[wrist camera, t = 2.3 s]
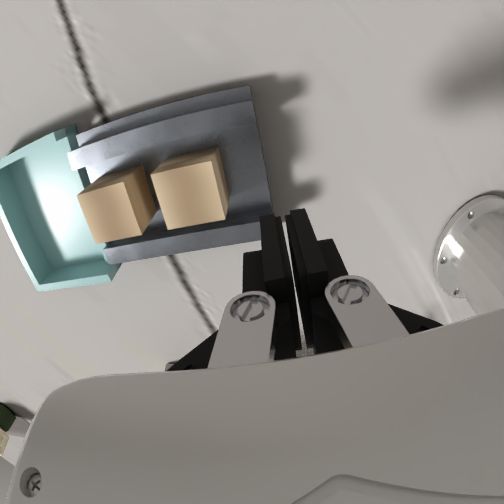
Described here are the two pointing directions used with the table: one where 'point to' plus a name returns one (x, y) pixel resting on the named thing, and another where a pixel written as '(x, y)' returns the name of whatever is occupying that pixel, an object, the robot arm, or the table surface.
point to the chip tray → (51, 215)
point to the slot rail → (179, 143)
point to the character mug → (5, 426)
